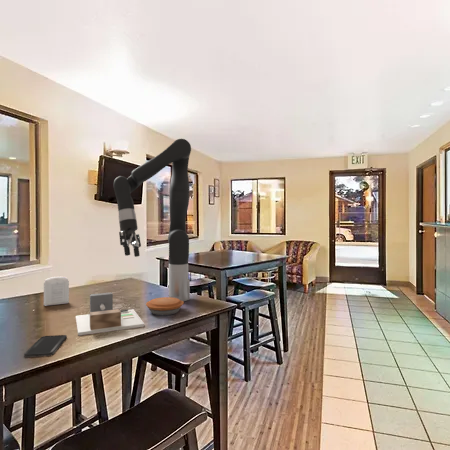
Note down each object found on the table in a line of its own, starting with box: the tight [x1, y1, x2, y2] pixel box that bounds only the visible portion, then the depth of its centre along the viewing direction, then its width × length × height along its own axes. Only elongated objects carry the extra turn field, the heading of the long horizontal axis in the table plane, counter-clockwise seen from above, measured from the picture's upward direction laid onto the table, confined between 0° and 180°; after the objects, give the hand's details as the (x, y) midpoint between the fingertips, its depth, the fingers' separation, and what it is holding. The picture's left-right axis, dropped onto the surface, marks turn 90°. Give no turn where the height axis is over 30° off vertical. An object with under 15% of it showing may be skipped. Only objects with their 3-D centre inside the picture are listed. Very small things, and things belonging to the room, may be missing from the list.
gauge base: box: [75, 308, 145, 336], centre depth 128 cm, size 22×21×1 cm
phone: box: [23, 334, 68, 358], centre depth 104 cm, size 8×1×15 cm
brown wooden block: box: [89, 308, 121, 330], centre depth 120 cm, size 10×4×5 cm, turn 115°
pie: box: [145, 296, 185, 316], centre depth 143 cm, size 16×16×5 cm
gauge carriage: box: [89, 292, 129, 313], centre depth 132 cm, size 14×7×8 cm, turn 115°
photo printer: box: [43, 276, 70, 307], centre depth 154 cm, size 10×4×12 cm, turn 123°
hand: (132, 255), depth 150 cm, fingers open, 8 cm apart
